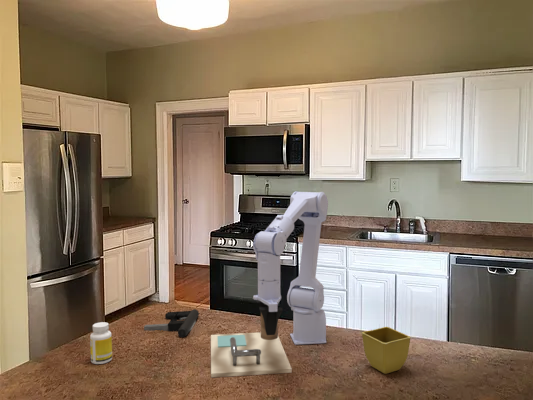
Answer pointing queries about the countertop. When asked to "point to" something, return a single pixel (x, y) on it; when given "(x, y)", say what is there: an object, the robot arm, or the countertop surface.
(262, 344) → the birch board
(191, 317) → the door handle
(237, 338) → the pad
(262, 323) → the walnut cylinder
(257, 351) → the bent wire
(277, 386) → the countertop surface
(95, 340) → the supplement bottle
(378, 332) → the flower pot
